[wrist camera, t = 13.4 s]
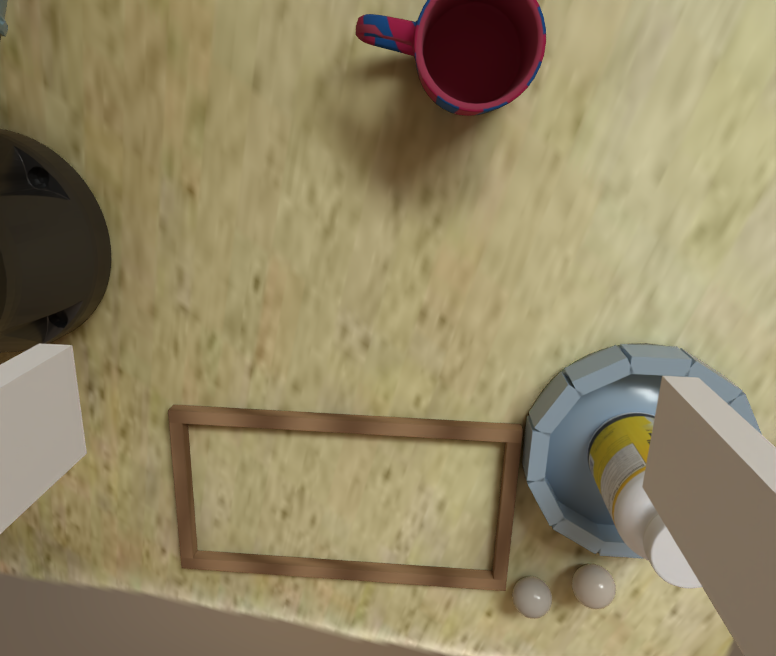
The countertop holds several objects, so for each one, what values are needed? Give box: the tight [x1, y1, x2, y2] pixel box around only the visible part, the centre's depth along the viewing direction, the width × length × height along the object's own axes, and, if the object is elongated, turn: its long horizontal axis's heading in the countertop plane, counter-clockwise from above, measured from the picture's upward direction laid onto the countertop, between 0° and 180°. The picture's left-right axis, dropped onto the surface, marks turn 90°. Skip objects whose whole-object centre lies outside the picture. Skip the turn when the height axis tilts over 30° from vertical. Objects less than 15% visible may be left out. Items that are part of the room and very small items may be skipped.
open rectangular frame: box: [168, 405, 523, 591], centre depth 47 cm, size 26×14×1 cm, turn 88°
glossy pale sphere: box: [512, 576, 552, 618], centre depth 48 cm, size 3×3×3 cm
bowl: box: [522, 343, 762, 558], centre depth 43 cm, size 15×15×3 cm
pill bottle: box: [587, 412, 702, 588], centre depth 38 cm, size 6×6×12 cm
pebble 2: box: [572, 564, 616, 609], centre depth 47 cm, size 3×3×3 cm
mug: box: [356, 0, 546, 116], centre depth 34 cm, size 7×10×7 cm
